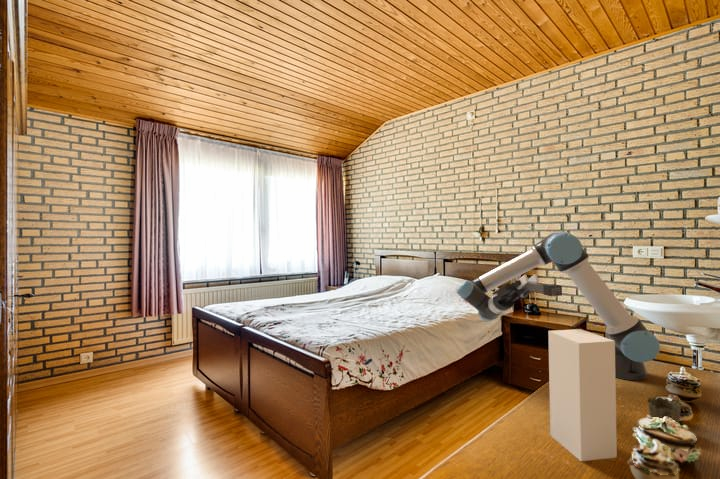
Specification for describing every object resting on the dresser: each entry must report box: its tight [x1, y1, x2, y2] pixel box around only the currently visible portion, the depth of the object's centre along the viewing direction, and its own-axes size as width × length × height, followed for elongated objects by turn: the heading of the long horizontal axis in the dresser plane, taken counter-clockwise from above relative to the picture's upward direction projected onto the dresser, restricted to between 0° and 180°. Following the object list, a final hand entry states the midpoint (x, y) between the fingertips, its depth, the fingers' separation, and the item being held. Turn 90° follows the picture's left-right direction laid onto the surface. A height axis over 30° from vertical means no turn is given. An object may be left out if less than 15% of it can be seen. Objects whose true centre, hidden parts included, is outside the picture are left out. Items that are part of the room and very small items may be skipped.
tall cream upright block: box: [547, 328, 618, 462], centre depth 98 cm, size 10×12×30 cm
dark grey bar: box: [514, 279, 563, 297], centre depth 120 cm, size 4×20×3 cm, turn 7°
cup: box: [647, 396, 682, 424], centre depth 104 cm, size 8×7×8 cm
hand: (531, 278), depth 122 cm, fingers closed on dark grey bar, 3 cm apart
